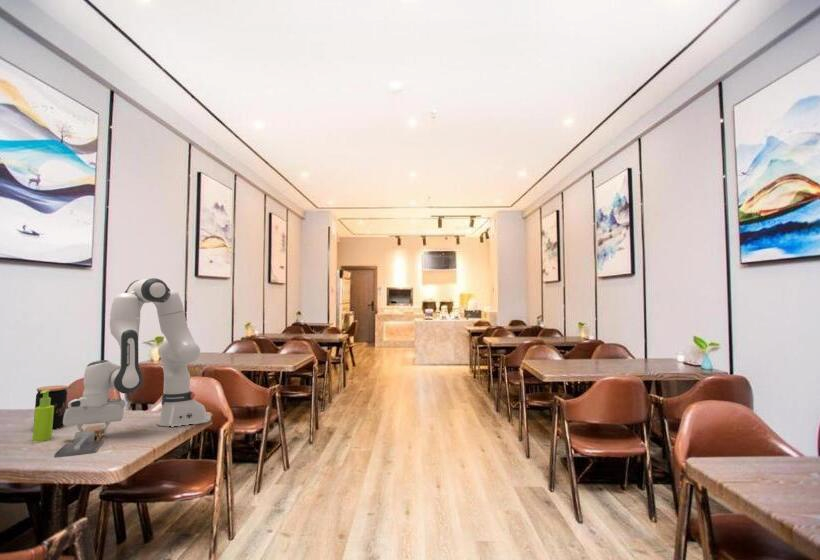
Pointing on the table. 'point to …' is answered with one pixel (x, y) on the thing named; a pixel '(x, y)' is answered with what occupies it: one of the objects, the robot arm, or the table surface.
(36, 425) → the soap dispenser
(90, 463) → the table surface
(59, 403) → the coffee jar
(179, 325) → the robot arm
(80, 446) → the dock plate
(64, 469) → the table surface
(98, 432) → the lock block
